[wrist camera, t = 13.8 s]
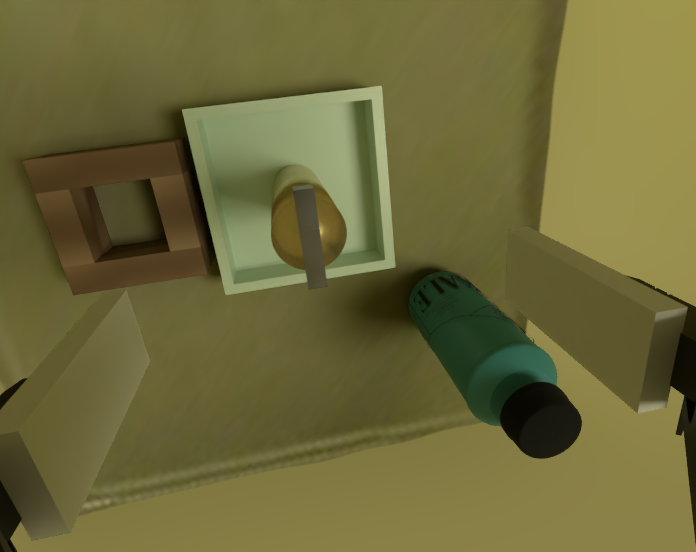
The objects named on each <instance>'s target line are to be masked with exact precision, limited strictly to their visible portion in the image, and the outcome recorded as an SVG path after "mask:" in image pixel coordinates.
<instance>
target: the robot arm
mask: <svg viewBox="0 0 696 552" xmlns="http://www.w3.org/2000/svg"><path fill="white" fill-rule="evenodd" d="M505 300H507V301H508V302H509V303H510V304H511V305H512V306H514V307H515V308H516V309H517V310H518V311H519V312H521V313H522V314H523V315H524V316H525V317H526V318H528V319H529V320H530V321H531V322H532V323H533V324H535V325H536V326H537V327H538V328H539V329H540V330H542V331H543V332H544V333H545V334H546V335H547V336H549V337H550V338H551V339H552V340H553V341H554V342H556V343H557V344H558V345H559V346H560V347H561V348H562V349H563V350H565V351H566V352H567V353H568V354H569V355H570V356H572V357H573V358H574V359H575V360H576V361H577V362H579V363H580V364H581V365H582V366H583V367H584V368H586V369H587V370H588V371H589V372H590V373H591V374H592V375H594V376H595V377H596V378H597V379H598V380H599V381H601V382H602V383H603V384H604V385H605V386H606V387H608V388H609V389H610V390H611V391H612V392H614V393H615V394H616V395H617V396H618V397H619V398H620V399H622V400H623V401H624V402H625V403H626V404H627V405H628V406H630V407H631V408H632V409H633V410H634V411H635V412H637V413H642V412H647V411H651V410H656V409H661V408H665V407H666V406H667V402H668V397H669V392H670V388H671V386H672V387H673V388H675V389H676V390H678V391H679V392H680V393H682V394H683V395H684V400H683V404H682V409H681V413H680V417H679V422H678V426H677V430H676V434H677V435H682V433H683V430H684V438H685V447H686V457H687V467H688V476H689V485H690V494H691V504H692V514H693V523H694V533H695V542H696V307H695V306H693V305H691V304H689V303H687V302H684V301H683V300H681V299H679V298H676V297H674V296H672V295H667V293H666V292H664V291H662V290H660V289H658V288H656V289H655V287H654V286H652V285H650V284H648V283H646V282H644V281H642V280H640V279H636V278H633V277H629V276H626V275H623V274H621V273H619V272H617V271H615V270H613V269H611V268H609V267H607V266H605V265H603V264H601V263H599V262H597V261H595V260H593V259H591V258H589V257H587V256H585V255H583V254H581V253H579V252H577V251H575V250H573V249H571V248H569V247H567V246H565V245H563V244H561V243H559V242H557V241H555V240H553V239H551V238H549V237H547V236H545V235H543V234H541V233H539V232H537V231H535V230H533V229H531V228H529V227H522V228H516V229H509V230H507V256H506V286H505ZM149 363H150V359H149V356H148V353H147V350H146V347H145V344H144V341H143V338H142V335H141V332H140V329H139V326H138V323H137V320H136V317H135V314H134V311H133V308H132V305H131V302H130V299H129V296H128V293H127V290H122V291H116V292H110V293H103V294H101V295H100V296H99V298H98V299H97V300H96V301H95V302H94V303H93V304H92V306H91V307H90V308H89V309H88V310H87V311H86V312H85V314H84V315H83V316H82V317H81V318H80V319H79V320H78V322H77V323H76V324H75V325H74V326H73V327H72V328H71V330H70V331H69V332H68V333H67V334H66V335H65V336H64V338H63V339H62V340H61V341H60V342H59V343H58V344H57V346H56V347H55V348H54V349H53V350H52V351H51V352H50V353H49V355H48V356H47V357H46V358H45V359H44V360H43V361H42V363H41V364H40V365H39V366H38V367H37V368H36V369H35V371H34V372H33V373H32V374H31V375H30V376H29V377H28V378H25V379H22V380H20V381H19V382H18V383H16V384H15V385H13V386H12V387H10V388H9V389H8V390H6V391H5V392H3V393H2V394H1V395H0V552H17V550H16V548H15V547H14V545H13V543H12V542H11V540H10V538H11V536H12V535H13V533H14V531H15V530H16V528H17V526H18V525H19V523H20V521H21V522H22V524H23V526H24V528H25V529H26V531H27V533H28V535H29V536H30V538H31V540H32V541H33V540H38V539H42V538H48V537H52V536H57V535H62V534H66V533H70V532H71V530H72V528H73V526H74V524H75V521H76V519H77V517H78V515H79V513H80V511H81V509H82V506H83V504H84V502H85V500H86V498H87V496H88V494H89V491H90V489H91V487H92V485H93V483H94V481H95V478H96V476H97V474H98V472H99V470H100V468H101V466H102V463H103V461H104V459H105V457H106V455H107V453H108V451H109V448H110V446H111V444H112V442H113V440H114V438H115V436H116V433H117V431H118V429H119V427H120V425H121V423H122V421H123V418H124V416H125V414H126V412H127V410H128V408H129V406H130V403H131V401H132V399H133V397H134V395H135V393H136V391H137V388H138V386H139V384H140V382H141V380H142V378H143V376H144V373H145V371H146V369H147V367H148V365H149Z"/></svg>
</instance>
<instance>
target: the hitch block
mask: <svg viewBox="0 0 696 552" xmlns="http://www.w3.org/2000/svg"><path fill="white" fill-rule="evenodd" d="M22 162H23V164H24V167H25V169H26V172H27V175H28V177H29V180H30V183H31V185H32V188H33V190H34V193H35V196H36V198H37V201H38V204H39V206H40V209H41V212H42V214H43V217H44V219H45V222H46V225H47V227H48V230H49V233H50V235H51V238H52V240H53V243H54V246H55V248H56V251H57V254H58V256H59V259H60V262H61V264H62V267H63V269H64V272H65V275H66V277H67V280H68V283H69V285H70V288H71V290H72V293H73V295H78V294H84V293H91V292H97V291H103V290H110V289H116V288H122V287H129V286H135V285H141V284H148V283H154V282H160V281H167V280H173V279H180V278H186V277H192V276H199V275H205V274H208V271H209V269H210V266H211V263H212V261H213V258H214V257H213V253H212V249H211V245H210V241H209V236H208V232H207V228H206V224H205V220H204V215H203V211H202V207H201V203H200V199H199V195H198V190H197V186H196V182H195V178H194V174H193V170H192V165H191V161H190V157H189V153H188V149H187V145H186V140H185V138H180V139H172V140H164V141H156V142H148V143H140V144H132V145H124V146H116V147H108V148H100V149H92V150H84V151H76V152H68V153H60V154H52V155H46V156H42V157H37V158H33V159H28V160H23V161H22ZM143 179H150V180H151V184H152V187H153V191H154V194H155V198H156V202H157V205H158V209H159V212H160V216H161V220H162V223H163V227H164V231H165V234H166V238H167V239H163V240H157V241H150V242H143V243H136V244H130V245H123V246H116V247H112V244H111V241H110V237H109V234H108V231H107V228H106V225H105V222H104V219H103V216H102V213H101V210H100V207H99V204H98V201H97V198H96V195H95V192H94V189H93V186H98V185H105V184H113V183H120V182H128V181H135V180H143Z"/></svg>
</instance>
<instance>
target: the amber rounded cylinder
mask: <svg viewBox="0 0 696 552" xmlns="http://www.w3.org/2000/svg"><path fill="white" fill-rule="evenodd" d="M346 238H347V228H346V223H345V220H344V218H343V216H342V214H341V213H340V211H339V210H338V208H337V206H336V205H335V203H334V202H333V200H332V199H331V197H330V196H329V194H328V192H327V191H326V189H325V188H324V186H323V185H322V183H321V181H320V180H319V178H318V177H317V175H316V174H315V173H314V172H313V171H312V170H311V169H310V168H308V167H306V166H303V165H289V166H286V167H284V168H283V169H281V170H280V171H279V172H278V173H277V175H276V176H275V178H274V180H273V184H272V210H271V241H272V245H273V247H274V250H275V251H276V253H277V255H278V256H279V257H280V258H281V259H282V260H283V261H284V262H285V263H287V264H288V265H290V266H292V267H294V268H297V269H301V270H305V271H306V277H307V283H308V289H309V290H310V289H316V288H322V287H328V286H327V279H326V272H325V266H327V265H329V264H330V263H332V262H333V261H334V260H335V259H336V258H337V257H338V256H339V255H340V253H341V252H342V250H343V248H344V246H345V243H346Z"/></svg>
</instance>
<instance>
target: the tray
mask: <svg viewBox="0 0 696 552" xmlns="http://www.w3.org/2000/svg"><path fill="white" fill-rule="evenodd" d="M182 113H183V117H184V121H185V125H186V130H187V134H188V138H189V142H190V146H191V151H192V155H193V159H194V163H195V168H196V172H197V176H198V180H199V184H200V189H201V193H202V197H203V201H204V206H205V210H206V214H207V218H208V222H209V227H210V231H211V235H212V239H213V244H214V248H215V252H216V256H217V260H218V265H219V269H220V273H221V277H222V282H223V286H224V290H225V294H226V295H230V294H236V293H242V292H248V291H254V290H260V289H266V288H273V287H279V286H285V285H291V284H297V283H303V282H307V277H306V271H305V270H301V269H297V268H294V267H292V266H290V265H288V264H287V263H285V262H284V261H283V260H282V259H281V258H280V257H279V256H278V255H277V253H276V251H275V250H274V247H273V245H272V241H271V210H272V184H273V180H274V178H275V176H276V175H277V173H278V172H279V171H280V170H281V169H283V168H284V167H286V166H289V165H303V166H306V167H308V168H310V169H311V170H312V171H313V172H314V173H315V174H316V175H317V177H318V178H319V180H320V181H321V183H322V185H323V186H324V188H325V189H326V191H327V192H328V194H329V196H330V197H331V199H332V200H333V202H334V203H335V205H336V206H337V208H338V210H339V211H340V213H341V214H342V216H343V218H344V220H345V223H346V228H347V238H346V243H345V246H344V248H343V250H342V252H341V253H340V255H339V256H338V257H337V258H336V259H335V260H334V261H333V262H332V263H330V264H329V265H327V266H325V272H326V279H328V278H334V277H340V276H346V275H352V274H358V273H365V272H371V271H377V270H383V269H389V268H395V257H394V244H393V231H392V217H391V204H390V191H389V178H388V164H387V151H386V138H385V124H384V111H383V98H382V86H376V87H368V88H360V89H351V90H343V91H334V92H326V93H317V94H309V95H300V96H292V97H283V98H275V99H266V100H258V101H249V102H241V103H232V104H224V105H215V106H207V107H198V108H190V109H182Z"/></svg>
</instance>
